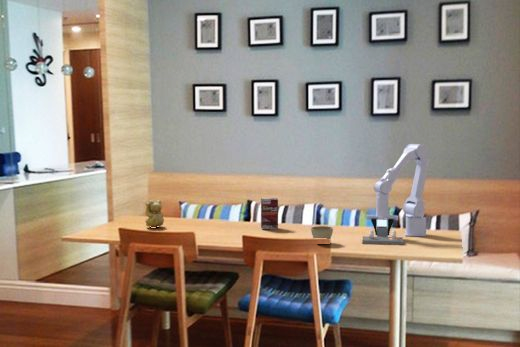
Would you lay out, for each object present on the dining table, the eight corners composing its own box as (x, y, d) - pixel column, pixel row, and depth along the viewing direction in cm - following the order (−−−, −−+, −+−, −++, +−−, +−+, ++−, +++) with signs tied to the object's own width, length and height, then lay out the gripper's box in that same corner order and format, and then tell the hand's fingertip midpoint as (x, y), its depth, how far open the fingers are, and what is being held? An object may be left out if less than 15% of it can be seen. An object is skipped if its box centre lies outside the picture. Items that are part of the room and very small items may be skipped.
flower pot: (309, 241, 258) (309, 226, 257) (330, 241, 259) (330, 225, 258) (313, 246, 248) (313, 230, 247) (335, 245, 249) (335, 229, 248)
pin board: (402, 240, 258) (402, 228, 257) (403, 244, 249) (403, 232, 248) (362, 239, 261) (362, 227, 261) (362, 243, 252) (362, 231, 252)
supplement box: (262, 230, 288) (261, 199, 286) (260, 228, 292) (260, 198, 291) (278, 229, 289) (278, 199, 287) (277, 227, 293) (276, 197, 292)
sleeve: (387, 236, 267) (387, 226, 266) (387, 238, 262) (387, 228, 261) (376, 236, 268) (376, 226, 267) (376, 238, 263) (376, 228, 262)
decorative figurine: (161, 225, 303) (160, 198, 302) (166, 228, 296) (166, 200, 295) (144, 227, 299) (143, 199, 297) (149, 229, 292) (148, 201, 290)
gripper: (366, 207, 261) (366, 236, 262) (398, 207, 258) (398, 236, 259) (366, 205, 268) (366, 233, 269) (397, 205, 265) (397, 233, 266)
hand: (382, 234), depth 265 cm, fingers closed on sleeve, 5 cm apart
